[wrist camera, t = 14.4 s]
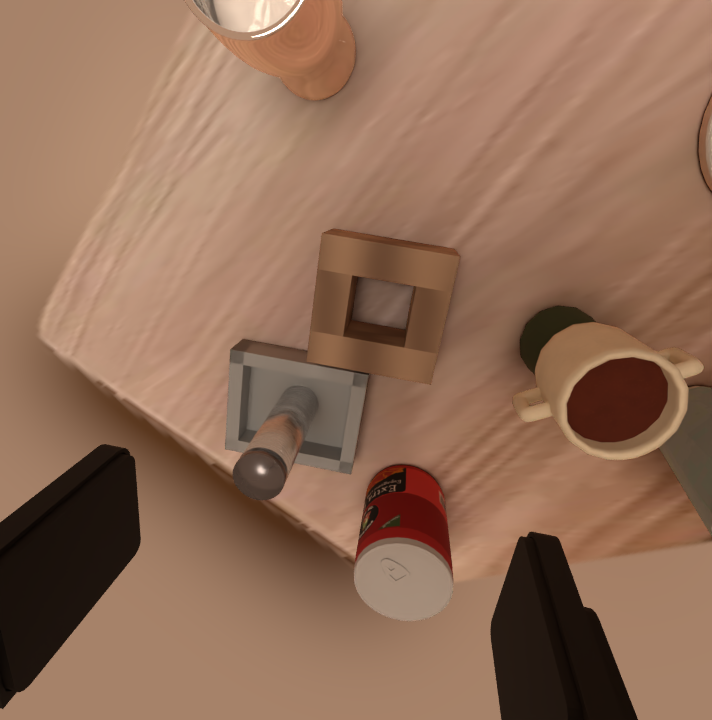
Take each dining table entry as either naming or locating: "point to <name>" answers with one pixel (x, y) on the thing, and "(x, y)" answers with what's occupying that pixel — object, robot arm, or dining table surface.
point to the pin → (276, 444)
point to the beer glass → (286, 40)
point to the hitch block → (370, 341)
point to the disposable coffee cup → (694, 452)
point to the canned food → (404, 546)
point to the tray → (268, 382)
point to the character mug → (603, 384)
